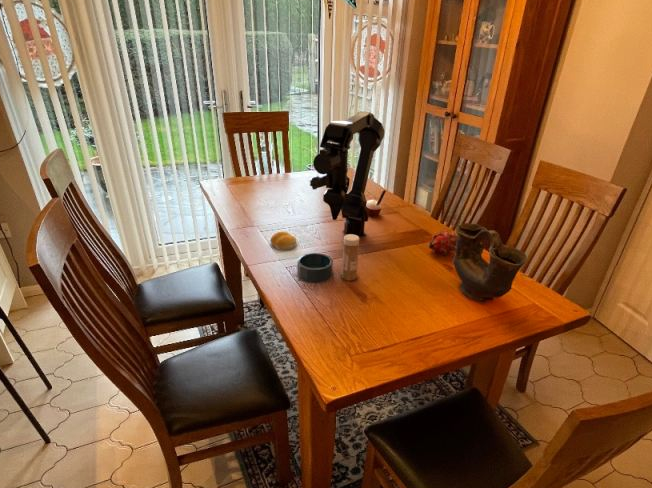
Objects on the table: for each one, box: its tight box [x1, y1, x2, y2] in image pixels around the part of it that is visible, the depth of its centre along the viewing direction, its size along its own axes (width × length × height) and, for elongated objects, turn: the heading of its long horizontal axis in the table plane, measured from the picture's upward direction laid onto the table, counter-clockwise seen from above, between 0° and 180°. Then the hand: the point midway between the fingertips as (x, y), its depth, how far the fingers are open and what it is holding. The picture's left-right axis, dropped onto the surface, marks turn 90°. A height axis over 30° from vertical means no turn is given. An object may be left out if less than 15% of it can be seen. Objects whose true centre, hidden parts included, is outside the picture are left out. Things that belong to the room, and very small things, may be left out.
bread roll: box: [270, 230, 298, 250], centre depth 145 cm, size 8×9×4 cm
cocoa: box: [366, 189, 387, 218], centre depth 170 cm, size 10×6×12 cm, turn 19°
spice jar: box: [341, 234, 360, 281], centre depth 126 cm, size 5×5×14 cm
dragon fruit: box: [428, 230, 457, 256], centre depth 145 cm, size 8×8×12 cm
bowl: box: [296, 252, 334, 284], centre depth 129 cm, size 10×10×4 cm
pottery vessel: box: [452, 222, 528, 304], centre depth 120 cm, size 25×11×20 cm, turn 23°
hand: (336, 214), depth 137 cm, fingers open, 9 cm apart
